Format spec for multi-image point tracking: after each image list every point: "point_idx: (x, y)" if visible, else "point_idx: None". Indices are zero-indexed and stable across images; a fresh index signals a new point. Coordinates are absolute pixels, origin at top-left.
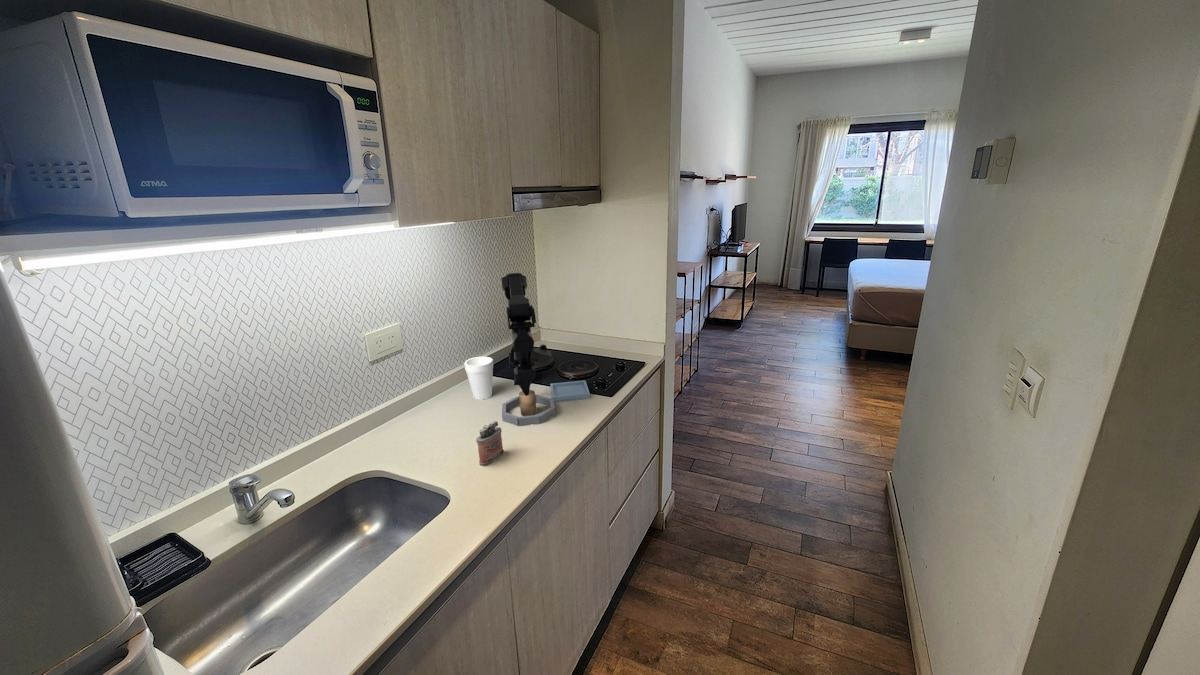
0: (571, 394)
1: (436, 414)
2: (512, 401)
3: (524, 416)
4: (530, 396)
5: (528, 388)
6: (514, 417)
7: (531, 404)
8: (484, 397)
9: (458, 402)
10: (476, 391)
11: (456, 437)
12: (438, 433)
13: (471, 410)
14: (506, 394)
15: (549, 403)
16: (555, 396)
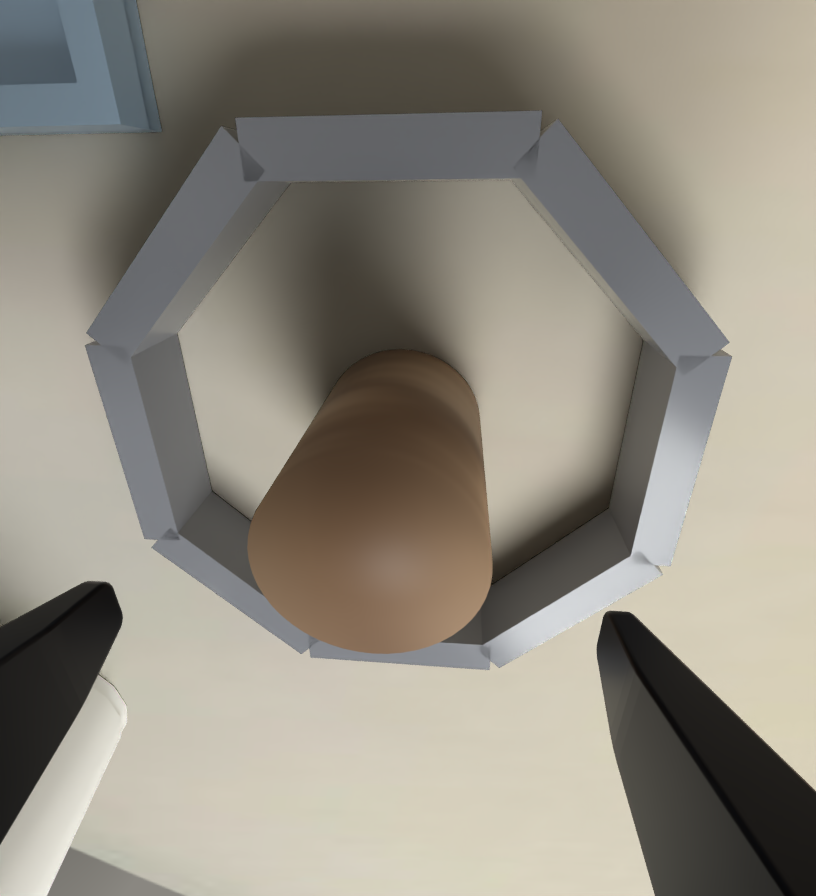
0: None
1: (309, 866)
2: (254, 584)
3: (646, 510)
4: (483, 524)
5: (762, 765)
6: (625, 592)
7: (477, 453)
8: (110, 707)
9: (165, 796)
10: (92, 795)
11: (625, 818)
12: (537, 867)
13: (282, 753)
14: (16, 571)
15: (274, 186)
16: (94, 71)
